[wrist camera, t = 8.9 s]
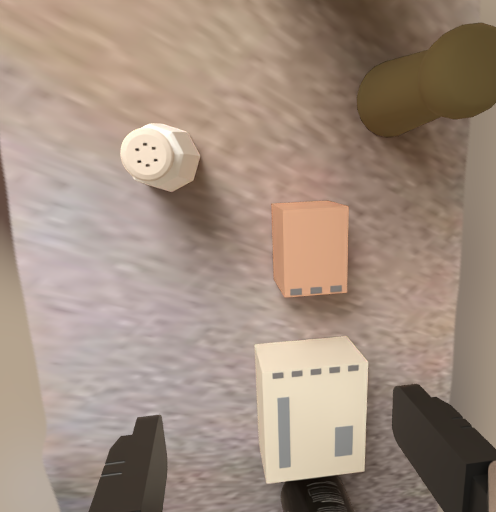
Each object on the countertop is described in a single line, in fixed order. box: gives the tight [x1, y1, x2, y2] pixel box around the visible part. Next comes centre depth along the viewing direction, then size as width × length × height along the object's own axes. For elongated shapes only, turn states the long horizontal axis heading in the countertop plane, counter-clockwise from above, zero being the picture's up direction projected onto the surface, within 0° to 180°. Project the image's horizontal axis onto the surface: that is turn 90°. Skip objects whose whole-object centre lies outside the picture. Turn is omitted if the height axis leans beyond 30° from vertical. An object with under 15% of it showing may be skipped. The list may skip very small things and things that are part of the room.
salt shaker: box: [121, 123, 200, 192], centre depth 25 cm, size 5×5×11 cm
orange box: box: [271, 201, 349, 297], centre depth 31 cm, size 7×5×5 cm
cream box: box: [255, 336, 368, 484], centre depth 35 cm, size 11×9×5 cm
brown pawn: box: [357, 23, 496, 137], centre depth 26 cm, size 6×6×11 cm
